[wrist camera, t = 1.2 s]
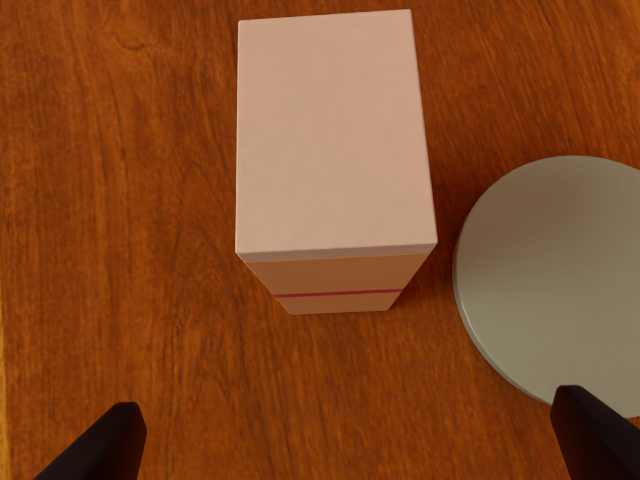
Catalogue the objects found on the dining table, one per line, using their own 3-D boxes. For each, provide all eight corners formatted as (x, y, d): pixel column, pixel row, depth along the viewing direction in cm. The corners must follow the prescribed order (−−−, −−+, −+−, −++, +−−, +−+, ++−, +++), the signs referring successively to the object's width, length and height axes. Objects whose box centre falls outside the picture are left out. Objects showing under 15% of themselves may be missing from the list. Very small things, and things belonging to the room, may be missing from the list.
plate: (726, 440, 21) (745, 444, 20) (439, 389, 22) (444, 390, 21) (709, 180, 24) (724, 172, 23) (462, 148, 25) (467, 139, 25)
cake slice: (388, 310, 23) (439, 244, 11) (289, 315, 23) (234, 254, 11) (378, 182, 25) (412, 7, 13) (287, 187, 25) (237, 19, 13)
